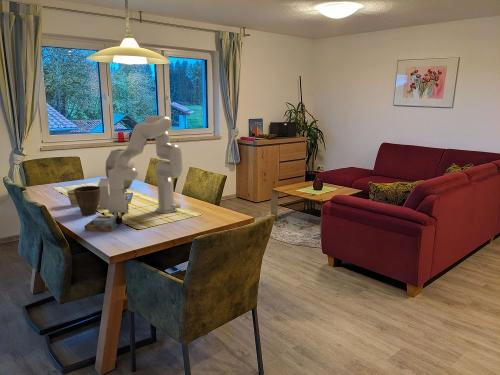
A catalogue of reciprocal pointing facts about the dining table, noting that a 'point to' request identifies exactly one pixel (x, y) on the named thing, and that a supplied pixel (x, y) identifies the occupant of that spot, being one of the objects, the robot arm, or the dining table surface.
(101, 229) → the corral
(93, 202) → the plant pot
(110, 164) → the vase
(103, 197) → the milk carton
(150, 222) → the dining table surface
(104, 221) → the t block
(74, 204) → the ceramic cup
